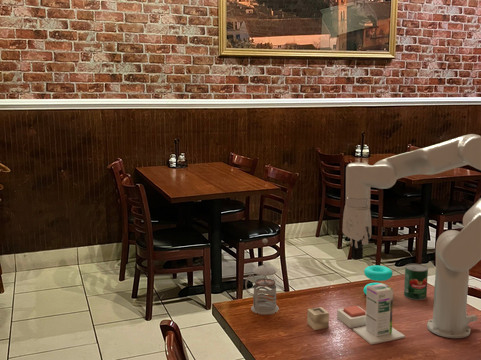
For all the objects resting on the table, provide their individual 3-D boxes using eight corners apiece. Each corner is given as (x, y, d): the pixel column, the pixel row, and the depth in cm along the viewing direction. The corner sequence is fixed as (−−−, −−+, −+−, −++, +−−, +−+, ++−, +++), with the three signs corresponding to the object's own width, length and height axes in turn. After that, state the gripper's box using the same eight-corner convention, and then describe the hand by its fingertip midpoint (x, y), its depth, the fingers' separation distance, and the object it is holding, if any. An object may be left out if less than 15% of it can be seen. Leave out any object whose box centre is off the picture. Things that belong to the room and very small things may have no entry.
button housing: (357, 314, 176) (358, 305, 175) (371, 324, 168) (372, 315, 168) (337, 318, 173) (337, 309, 172) (350, 328, 165) (350, 319, 165)
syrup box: (376, 337, 158) (378, 291, 155) (365, 329, 163) (366, 285, 161) (392, 333, 160) (394, 288, 157) (380, 326, 165) (381, 282, 163)
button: (356, 314, 173) (356, 305, 173) (365, 320, 169) (365, 311, 168) (343, 316, 172) (343, 308, 171) (351, 322, 167) (352, 314, 167)
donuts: (369, 262, 197) (395, 267, 192) (368, 287, 199) (394, 292, 194) (360, 270, 189) (388, 275, 184) (359, 296, 190) (387, 302, 185)
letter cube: (321, 321, 171) (321, 306, 170) (328, 327, 166) (328, 312, 165) (307, 323, 169) (307, 308, 168) (314, 330, 164) (314, 314, 164)
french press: (281, 314, 176) (281, 242, 172) (246, 315, 176) (246, 243, 171) (277, 302, 186) (277, 234, 182) (244, 303, 185) (244, 235, 181)
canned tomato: (414, 290, 196) (415, 262, 194) (431, 297, 189) (433, 268, 187) (399, 294, 192) (400, 265, 190) (416, 302, 185) (417, 272, 183)
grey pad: (385, 324, 168) (385, 322, 168) (404, 337, 159) (404, 335, 159) (352, 330, 164) (352, 328, 164) (371, 344, 155) (371, 342, 155)
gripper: (335, 199, 169) (334, 253, 172) (360, 208, 155) (359, 267, 159) (355, 197, 172) (354, 250, 175) (382, 206, 158) (380, 264, 161)
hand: (356, 258), depth 167 cm, fingers closed
